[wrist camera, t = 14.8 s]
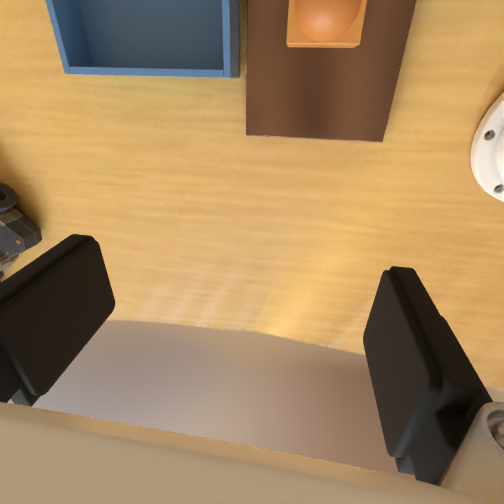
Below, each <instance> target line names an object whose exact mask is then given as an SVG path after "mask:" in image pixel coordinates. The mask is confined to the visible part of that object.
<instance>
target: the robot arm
mask: <svg viewBox="0 0 504 504" xmlns="http://www.w3.org/2000/svg"><path fill="white" fill-rule="evenodd" d="M487 131H488V133H487V135H485V133H486V132H487ZM484 135H485V136H484ZM471 167H472V171H473V174H474V176H475V178H476V180H477V182H478V184H479V185H480V186H481V187H482V188H483V189H484V190H485V191H486V192H487V193H489V194H490V195H492V196H493V197H495V198H497V199H499V200H501V201H503V202H504V92H503V93H502V94H501V95H500V96H499V97H498V99H497V100H496V101H495V102H494V103H493V104H492V106H491V107H490V108H489V109H488V111H487V113H486V114H485V116H484V117H483V119H482V120H481V122H480V124H479V126H478V129H477V131H476V133H475V136H474V139H473V143H472V147H471ZM114 308H115V299H114V296H113V292H112V289H111V285H110V281H109V278H108V274H107V271H106V267H105V264H104V260H103V257H102V253H101V249H100V246H99V243H98V242H97V241H95V239H94V238H93V237H92V236H88V235H78V234H73V235H70V236H69V237H67V238H66V239H64V240H63V241H61V242H60V243H59V244H57V245H56V246H54V247H53V248H51V249H50V250H48V251H47V252H45V253H44V254H42V255H41V256H40V257H38V258H37V259H35V260H34V261H32V262H31V263H29V264H28V265H26V266H25V267H24V268H22V269H21V270H19V271H18V272H16V273H15V274H13V275H12V276H10V277H9V278H7V279H6V280H5V281H3V282H2V283H0V504H504V402H493V401H492V399H491V397H490V396H489V394H488V392H487V390H486V389H485V387H484V385H483V383H482V382H481V380H480V378H479V376H478V375H477V373H476V371H475V370H474V368H473V366H472V364H471V363H470V361H469V359H468V357H467V356H466V354H465V352H464V351H463V349H462V347H461V345H460V344H459V342H458V340H457V338H456V337H455V335H454V333H453V332H452V330H451V328H450V326H449V325H448V323H447V321H446V320H445V319H444V317H443V316H441V315H440V314H439V312H438V310H437V308H436V307H435V305H434V303H433V301H432V300H431V298H430V296H429V294H428V293H427V291H426V289H425V287H424V286H423V284H422V282H421V280H420V278H419V277H418V275H417V273H416V271H415V270H414V269H413V268H406V267H396V266H392V267H391V268H390V270H385V271H384V272H383V274H382V277H381V280H380V283H379V286H378V290H377V293H376V296H375V299H374V302H373V306H372V309H371V312H370V315H369V318H368V322H367V325H366V328H365V331H364V336H363V344H364V349H365V353H366V358H367V362H368V367H369V371H370V376H371V380H372V385H373V389H374V394H375V399H376V403H377V408H378V412H379V417H380V421H381V426H382V430H383V435H384V439H385V444H386V448H387V452H388V454H389V455H390V456H391V457H395V459H396V463H397V468H398V472H401V473H407V474H412V475H415V478H416V480H414V479H410V478H406V477H402V476H398V475H394V474H390V473H386V472H381V471H375V470H371V469H366V468H361V467H356V466H351V465H346V464H341V463H336V462H331V461H326V460H321V459H316V458H311V457H306V456H301V455H295V454H290V453H284V452H279V451H273V450H268V449H262V448H257V447H252V446H246V445H241V444H235V443H230V442H224V441H219V440H213V439H208V438H202V437H197V436H191V435H186V434H180V433H175V432H169V431H163V430H158V429H152V428H147V427H141V426H135V425H130V424H124V423H118V422H113V421H107V420H101V419H96V418H90V417H85V416H79V415H73V414H67V413H62V412H56V411H50V410H44V409H38V408H33V407H32V406H33V404H34V403H35V402H36V401H37V400H38V398H39V397H40V396H42V395H44V394H46V393H47V392H48V391H49V389H50V388H51V387H52V386H53V385H54V383H55V382H56V381H57V379H58V378H59V377H60V376H61V375H62V373H63V372H64V371H65V370H66V368H67V367H68V366H69V365H70V364H71V362H72V361H73V360H74V359H75V357H76V356H77V355H78V354H79V352H80V351H81V350H82V349H83V347H84V346H85V345H86V344H87V343H88V341H89V340H90V339H91V338H92V336H93V335H94V334H95V333H96V331H97V330H98V329H99V328H100V327H101V325H102V324H103V323H104V322H105V320H106V319H107V318H108V317H109V315H110V314H111V313H112V312H113V310H114ZM10 399H12V401H13V402H14V404H8V403H7V402H8V401H9V400H10ZM15 404H18V405H15ZM21 405H24V406H21ZM27 406H29V407H27Z"/></svg>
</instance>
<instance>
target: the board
mask: <svg viewBox="0 0 504 504" xmlns="http://www.w3.org/2000/svg"><path fill="white" fill-rule="evenodd" d="M415 3H416V0H367V6H366V11H365V17H364V23H363V29H362V35H361V41H360V44H359V45H358V46H356V47H354V48H311V47H288V45H287V44H286V40H287V24H288V9H289V0H247V88H246V135H247V136H266V137H287V138H307V139H328V140H349V141H370V142H382V141H383V138H384V134H385V130H386V125H387V121H388V117H389V113H390V109H391V104H392V100H393V96H394V92H395V88H396V83H397V79H398V75H399V71H400V66H401V62H402V58H403V54H404V50H405V45H406V41H407V37H408V33H409V29H410V24H411V20H412V16H413V12H414V8H415Z"/></svg>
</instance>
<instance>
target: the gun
mask: <svg viewBox="0 0 504 504" xmlns="http://www.w3.org/2000/svg"><path fill="white" fill-rule="evenodd" d="M16 202H17V196H16V194H15V192H14V191H13V190H12V189H11V188H9V187H8V186H6V185H4V184H2V183H0V279H1V278H2V277H3V276H4V273H3V271H2V270H4V269H6V268H8V267H9V266H10V265H12V264H13V263H14V262H15V261H16V259H17V258H18V257H19V254H20V253H22V252H24V251H25V250H27V249H29V248H31V247H33V246H34V245H36V244H38V243H39V242H40V241H41V240H42V236H41V230H40V229H39V228H38V227H37V226H36V225H35V224H33V223H32V222H31V221H30V220H28V219H27V218H26V217H25V216H23V215H22V214H21V213H20V212H19V211H18V210H16V209H12V208H13V207H14V205H15V204H16Z"/></svg>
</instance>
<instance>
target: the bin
mask: <svg viewBox="0 0 504 504" xmlns="http://www.w3.org/2000/svg"><path fill="white" fill-rule="evenodd" d="M46 4H47V8H48V11H49V15H50V19H51V23H52V26H53V30H54V34H55V38H56V42H57V45H58V49H59V53H60V57H61V60H62V64H63V68H64V72H65V74H81V75H122V76H162V77H203V78H239V77H240V35H239V0H46Z"/></svg>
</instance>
